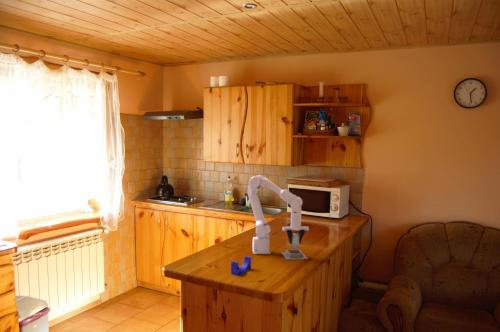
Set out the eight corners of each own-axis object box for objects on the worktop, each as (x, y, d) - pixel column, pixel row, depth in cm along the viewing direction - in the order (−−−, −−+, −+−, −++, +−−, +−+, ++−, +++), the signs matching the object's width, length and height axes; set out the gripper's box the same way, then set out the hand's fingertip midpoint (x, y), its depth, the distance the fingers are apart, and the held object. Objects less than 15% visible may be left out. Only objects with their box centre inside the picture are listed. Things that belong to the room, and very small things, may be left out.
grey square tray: (286, 259, 211) (286, 255, 211) (281, 253, 223) (281, 248, 223) (307, 259, 213) (308, 254, 213) (301, 252, 225) (302, 248, 225)
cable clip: (238, 276, 186) (238, 263, 185) (230, 273, 188) (231, 261, 188) (253, 269, 195) (253, 257, 195) (246, 267, 198) (246, 255, 197)
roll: (291, 248, 215) (292, 235, 215) (290, 245, 220) (290, 233, 219) (299, 248, 216) (300, 235, 215) (298, 245, 220) (298, 233, 219)
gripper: (284, 220, 212) (283, 245, 213) (310, 220, 214) (309, 245, 215) (281, 218, 219) (280, 242, 220) (306, 217, 221) (306, 241, 222)
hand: (294, 243), depth 218 cm, fingers closed on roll, 4 cm apart
